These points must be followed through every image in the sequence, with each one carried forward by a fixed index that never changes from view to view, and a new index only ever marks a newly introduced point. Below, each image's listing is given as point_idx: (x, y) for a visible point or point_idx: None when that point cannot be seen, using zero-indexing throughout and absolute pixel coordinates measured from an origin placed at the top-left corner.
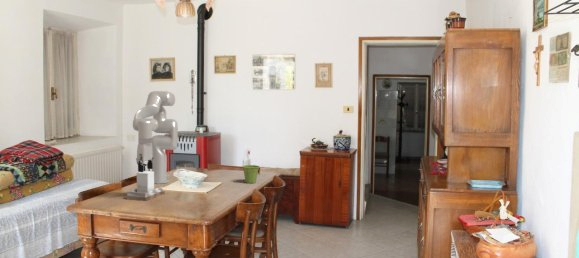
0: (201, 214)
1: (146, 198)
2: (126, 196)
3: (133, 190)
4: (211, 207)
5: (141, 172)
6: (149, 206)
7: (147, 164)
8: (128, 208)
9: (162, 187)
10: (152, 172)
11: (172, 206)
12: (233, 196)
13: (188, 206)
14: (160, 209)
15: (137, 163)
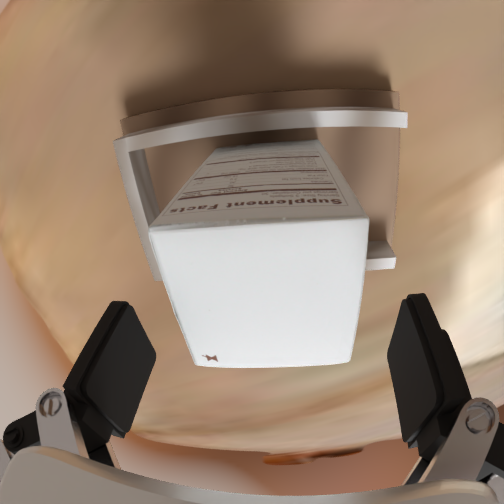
0: (157, 430)
1: None
2: (123, 133)
3: (181, 140)
4: (224, 436)
5: (200, 285)
6: None
7: (425, 360)
8: (43, 273)
9: (390, 266)
10: (310, 361)
11: (165, 379)
12: (372, 433)
13: (197, 407)
14: None
15: (27, 416)
